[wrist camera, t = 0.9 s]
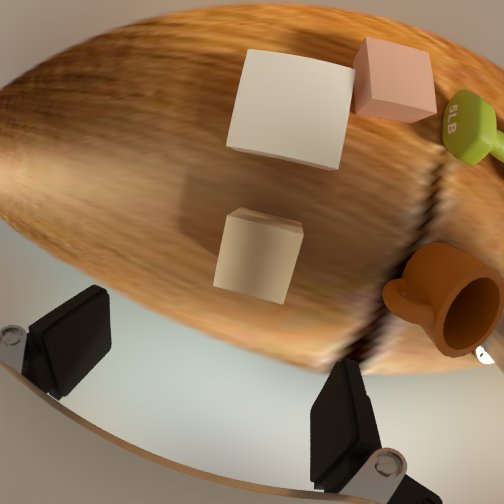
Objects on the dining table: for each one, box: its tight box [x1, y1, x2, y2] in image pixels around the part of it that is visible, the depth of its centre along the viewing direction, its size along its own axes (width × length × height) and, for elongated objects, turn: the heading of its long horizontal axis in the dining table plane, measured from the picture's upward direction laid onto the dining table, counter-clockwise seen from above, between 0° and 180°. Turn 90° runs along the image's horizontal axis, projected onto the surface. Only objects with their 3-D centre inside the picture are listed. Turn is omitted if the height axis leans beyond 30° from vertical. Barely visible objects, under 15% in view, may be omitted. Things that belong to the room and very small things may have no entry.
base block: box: [226, 49, 355, 171], centre depth 21 cm, size 9×9×5 cm
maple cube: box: [213, 207, 304, 304], centre depth 24 cm, size 6×6×6 cm
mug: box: [382, 242, 504, 358], centre depth 21 cm, size 9×12×9 cm
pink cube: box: [352, 37, 437, 124], centre depth 18 cm, size 6×6×6 cm
